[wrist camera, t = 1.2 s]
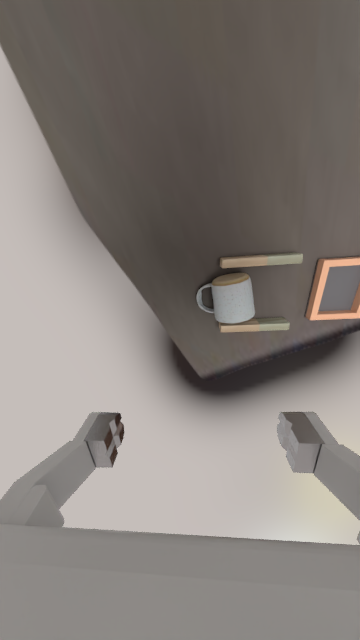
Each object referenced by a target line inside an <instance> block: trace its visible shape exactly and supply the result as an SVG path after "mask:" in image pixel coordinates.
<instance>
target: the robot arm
mask: <svg viewBox="0 0 360 640" xmlns="http://www.w3.org/2000/svg"><path fill="white" fill-rule="evenodd" d="M120 420H121V414H120V413H108V412H107V413H106V412H92V413H91V414H89V416H88V418H87V419H86V420H85V422H84V424H83V425H82V427H81V428H80V430H79V431H78V433H77V435H76V436H75V438H74V439H73V441H69V442H68V443H66V444H65V445H64V446H62V447H61V448H60V449H58V450H57V451H56V452H54V453H53V454H52V455H50V456H49V457H48V458H46V459H45V460H44V461H42V462H41V463H40V464H38V465H37V466H36V467H34V468H33V469H32V470H30V471H29V472H28V473H26V474H25V475H24V476H22V477H21V478H20V479H18V480H17V481H16V482H14V483H13V485H12V486H11V487H10V489H9V490H8V491H7V493H6V494H5V495H4V496H3V498H2V499H1V500H0V640H360V545H346V544H330V543H328V544H327V543H314V542H296V541H279V540H264V539H248V538H231V537H213V536H198V535H181V534H165V533H149V532H131V531H115V530H98V529H82V528H81V529H80V528H65V527H62V526H63V524H64V518H63V516H62V514H61V513H60V511H59V509H60V507H61V506H62V505H63V504H64V503H65V502H66V501H67V499H68V498H70V496H71V495H72V494H73V493H74V492H75V491H76V490H77V489H78V488H79V486H80V485H81V484H82V483H83V482H84V481H85V480H86V479H87V478H88V476H89V475H90V474H91V473H92V472H93V471H94V470H95V467H113V464H114V461H115V459H116V456H117V454H118V452H117V448H118V447H119V446H120V445H121V443H122V440H123V436H124V425H123V424H122V423H121V422H120ZM279 420H280V423H279V424H278V425H277V433H278V438H279V441H280V444H281V446H282V447H283V448H284V449H285V450H286V451H287V454H286V457H287V460H288V462H289V464H290V466H291V468H292V471H293V472H299V473H314V475H315V476H316V477H317V478H318V479H319V480H320V481H321V482H322V483H323V484H324V485H325V486H326V487H327V488H328V489H329V490H330V491H331V492H332V493H333V494H334V495H335V496H336V497H337V498H338V499H339V500H340V501H341V502H342V503H343V504H344V505H345V506H346V507H347V508H348V509H349V510H350V511H351V512H352V513H353V514H354V515H355V516H356V517H357V518H358V519H359V520H360V456H359V455H357V454H356V453H354V452H353V451H351V450H350V449H348V448H347V447H345V446H344V445H339V444H338V442H337V441H336V440H335V438H334V437H333V436H332V435H331V433H330V432H329V430H328V429H327V428H326V426H325V425H324V424H323V422H322V421H321V420H320V418H319V417H318V416H317V414H316V413H314V412H281V413H280V414H279ZM357 540H358V542H359V544H360V532H359V534H358V537H357Z"/></svg>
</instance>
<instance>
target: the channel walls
mask: <svg viewBox="0 0 360 640" xmlns="http://www.w3.org/2000/svg"><path fill="white" fill-rule="evenodd" d="M302 258H303V254H299V253H281V254H267V255H252V256H238V257H223V258H220V266H221V267H222V268H233V267H249V266H264V265H280V264H295V263H302ZM289 325H290V323H289V322H288V321H287V320H286V319H285V318H283V317H278V318H256V319H249V320H247V321H244V322H240V323H222V322H219V328H220V331H221V332H243V331H269V330H289Z"/></svg>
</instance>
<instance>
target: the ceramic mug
mask: <svg viewBox="0 0 360 640" xmlns="http://www.w3.org/2000/svg"><path fill="white" fill-rule="evenodd" d="M207 287H212V296H213V303H214V309H210V308H207V307H206V306H204V305H203V303H202V292H201V291H202V290H203V289H204V288H207ZM197 303H198V305H199V307H200V308H201V309H203V310H204V311H206V312H210V313H214V314H215V318H216V320H217V321H219V322H222V323H240V322H244V321H247V320H249V319H251V318H252V317H253V316H254V315H255V308H254V300H253V293H252V284H251V280H250V277H249V275H248V274H246V273H231V274H226V275H222V276H219V277H217V278H215V279H214V280H213V282H212V283H211V284H207V285H204V286H203V287H201V288H200V289H199V291H198V293H197Z"/></svg>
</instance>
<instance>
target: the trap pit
mask: <svg viewBox="0 0 360 640" xmlns="http://www.w3.org/2000/svg"><path fill="white" fill-rule="evenodd" d="M305 317H306V318H308V319H309V320H327V319H350V318H360V256H358V257H343V258H328V259H318V260H317V264H316V268H315V273H314V277H313V282H312V286H311V290H310V295H309V299H308V304H307V308H306V312H305Z"/></svg>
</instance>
